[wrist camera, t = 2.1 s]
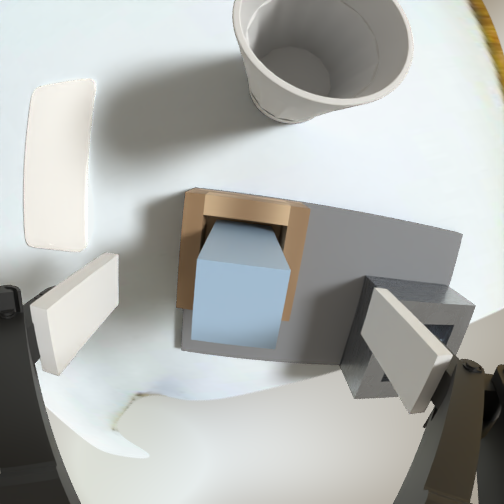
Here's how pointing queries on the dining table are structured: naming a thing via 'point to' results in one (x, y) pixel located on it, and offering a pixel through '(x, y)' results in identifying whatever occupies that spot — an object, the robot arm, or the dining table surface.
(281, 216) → the tan square frame
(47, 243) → the smartphone
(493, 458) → the robot arm
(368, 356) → the port
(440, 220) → the dining table surface
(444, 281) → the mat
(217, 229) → the plug
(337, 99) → the cup
